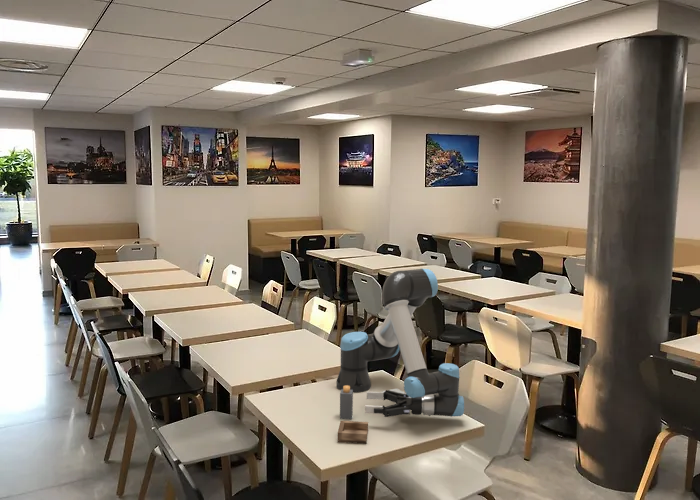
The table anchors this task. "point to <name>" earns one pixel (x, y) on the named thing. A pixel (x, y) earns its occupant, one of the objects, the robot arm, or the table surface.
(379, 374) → the table surface
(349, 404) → the connector plug
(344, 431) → the holder
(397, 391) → the external hard drive
